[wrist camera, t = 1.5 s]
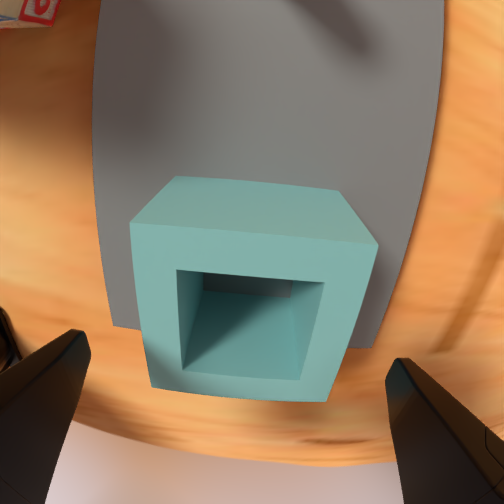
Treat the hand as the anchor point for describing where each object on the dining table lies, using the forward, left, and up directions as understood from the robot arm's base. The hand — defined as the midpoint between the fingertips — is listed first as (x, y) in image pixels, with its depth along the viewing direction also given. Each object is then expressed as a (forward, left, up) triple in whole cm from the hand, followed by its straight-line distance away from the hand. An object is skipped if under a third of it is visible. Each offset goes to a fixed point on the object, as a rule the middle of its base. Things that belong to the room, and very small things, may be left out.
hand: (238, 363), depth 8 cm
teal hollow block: (0, 0, -6) cm, 6 cm away
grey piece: (+7, 0, -8) cm, 10 cm away
